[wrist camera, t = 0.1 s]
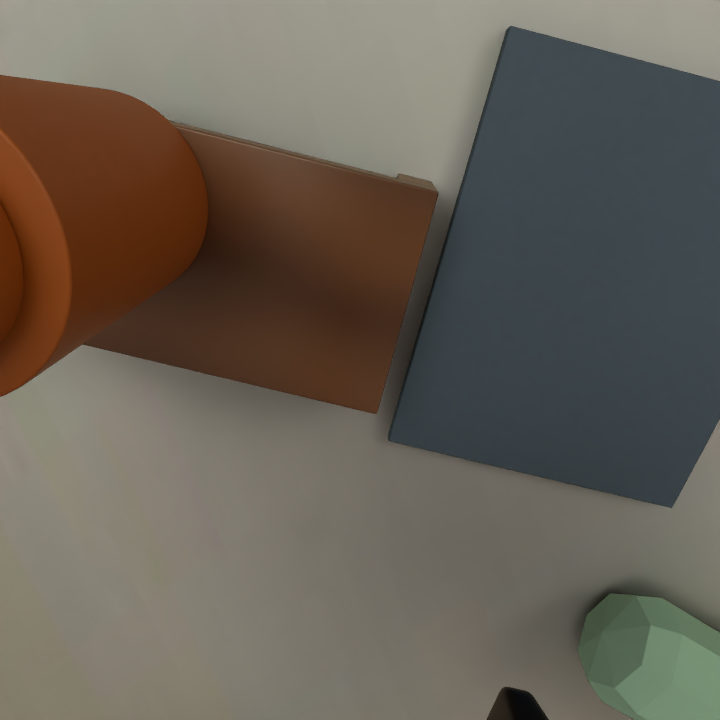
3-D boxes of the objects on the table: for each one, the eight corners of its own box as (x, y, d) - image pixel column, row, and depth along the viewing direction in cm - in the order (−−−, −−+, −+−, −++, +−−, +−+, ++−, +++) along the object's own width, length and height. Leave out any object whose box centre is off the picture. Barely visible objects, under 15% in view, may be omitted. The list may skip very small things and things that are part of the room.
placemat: (665, 499, 24) (672, 508, 24) (387, 433, 24) (387, 441, 23) (865, 123, 19) (879, 123, 18) (506, 28, 18) (510, 25, 18)
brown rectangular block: (379, 374, 23) (376, 414, 20) (52, 295, 22) (-5, 324, 19) (431, 181, 20) (439, 191, 17) (60, 87, 20) (-7, 79, 16)
